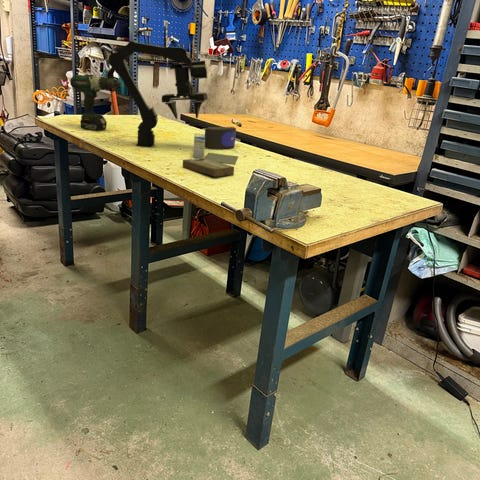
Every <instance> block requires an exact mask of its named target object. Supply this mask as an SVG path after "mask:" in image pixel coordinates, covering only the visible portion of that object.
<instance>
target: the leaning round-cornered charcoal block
mask: <svg viewBox="0 0 480 480" xmlns="http://www.w3.org/2000/svg"><path fill="white" fill-rule="evenodd" d="M204 134H205V147H204V149H208V150H229V149H232V148H234V147H235V145H236V137H237V136H236V135H237V128H236V127H234V126H207V127H206V128H205V129H204Z"/></svg>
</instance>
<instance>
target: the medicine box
mask: <svg viewBox="0 0 480 480" xmlns="http://www.w3.org/2000/svg"><path fill="white" fill-rule="evenodd" d="M192 151H193V152H192V153H193V154H192V159H196V158H205V133H197V132H194V135H193V148H192Z"/></svg>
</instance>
